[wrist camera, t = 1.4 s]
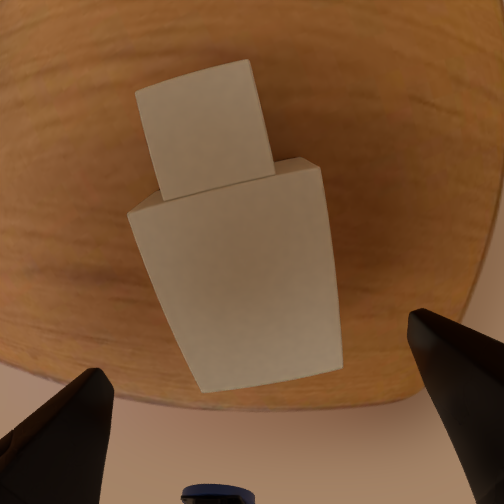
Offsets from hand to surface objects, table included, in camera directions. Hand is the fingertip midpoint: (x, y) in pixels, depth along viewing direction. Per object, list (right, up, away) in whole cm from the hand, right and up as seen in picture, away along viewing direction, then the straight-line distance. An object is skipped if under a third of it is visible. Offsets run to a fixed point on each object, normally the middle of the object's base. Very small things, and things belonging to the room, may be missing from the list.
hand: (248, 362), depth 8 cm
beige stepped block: (0, +4, +5) cm, 6 cm away
